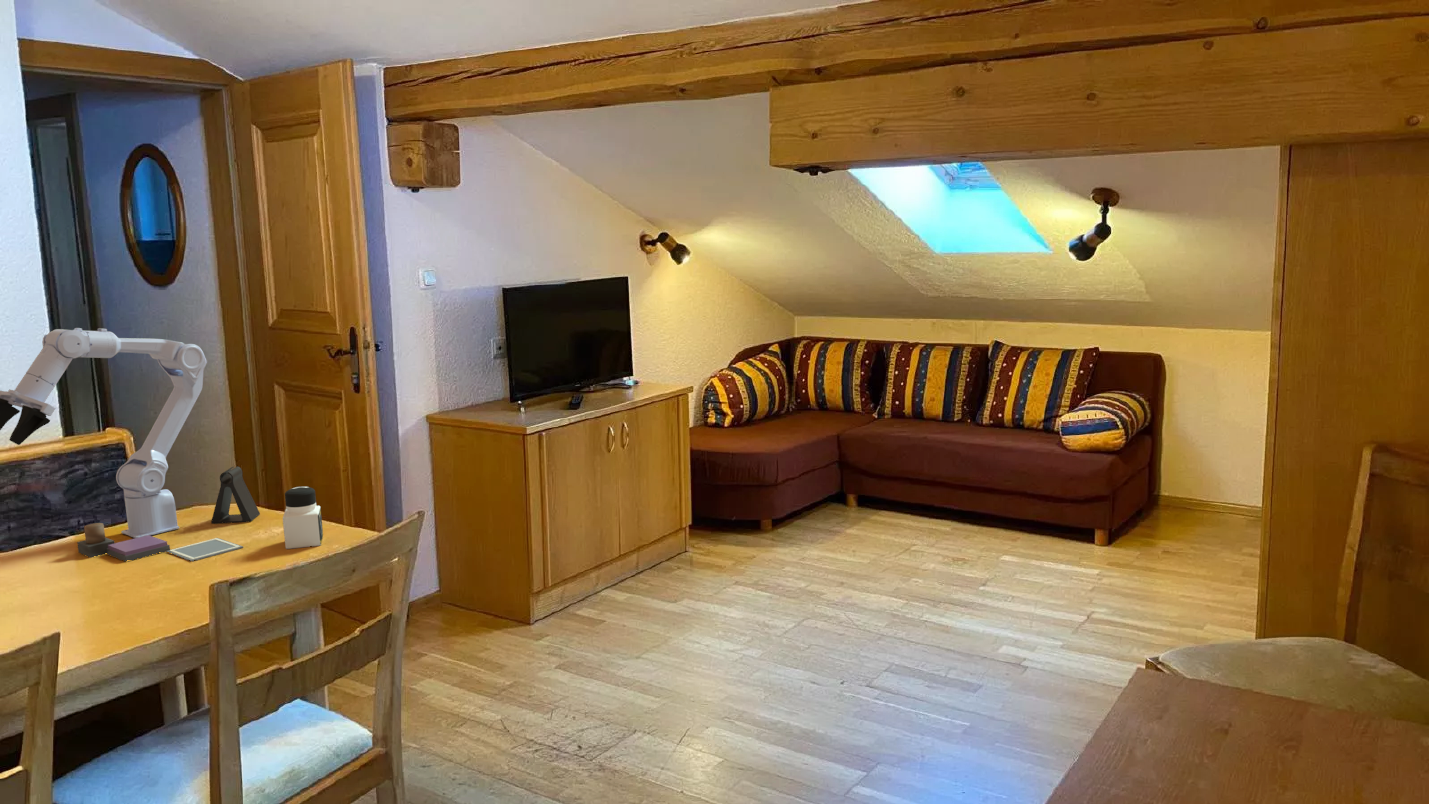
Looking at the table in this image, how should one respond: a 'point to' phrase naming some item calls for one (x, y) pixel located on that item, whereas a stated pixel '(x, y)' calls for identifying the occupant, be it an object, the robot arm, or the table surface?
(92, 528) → the stamp
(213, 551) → the board
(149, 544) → the ink pad
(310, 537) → the medicine bottle
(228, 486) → the dark grey triangular stand
